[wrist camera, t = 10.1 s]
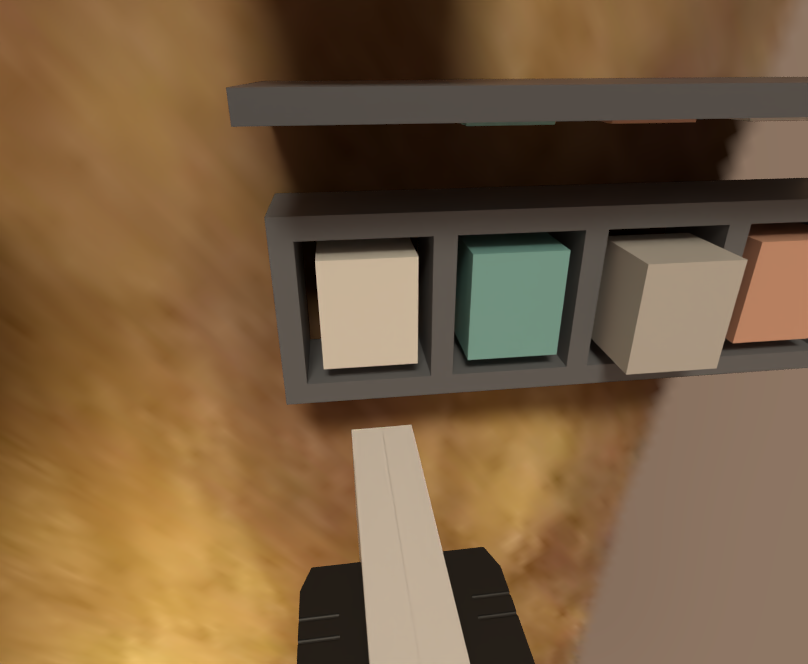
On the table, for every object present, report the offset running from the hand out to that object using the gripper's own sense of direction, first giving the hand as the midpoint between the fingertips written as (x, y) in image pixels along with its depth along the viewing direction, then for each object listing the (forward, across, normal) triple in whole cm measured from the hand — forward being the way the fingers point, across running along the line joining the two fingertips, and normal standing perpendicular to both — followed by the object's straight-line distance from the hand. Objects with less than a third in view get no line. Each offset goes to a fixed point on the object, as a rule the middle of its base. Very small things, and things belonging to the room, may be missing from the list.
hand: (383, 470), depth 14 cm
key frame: (+15, +10, 0) cm, 18 cm away
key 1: (+14, 0, 0) cm, 14 cm away
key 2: (+14, +7, 0) cm, 16 cm away
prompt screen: (+15, +10, +8) cm, 20 cm away
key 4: (+14, +20, 0) cm, 24 cm away
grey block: (+12, +13, 0) cm, 18 cm away
